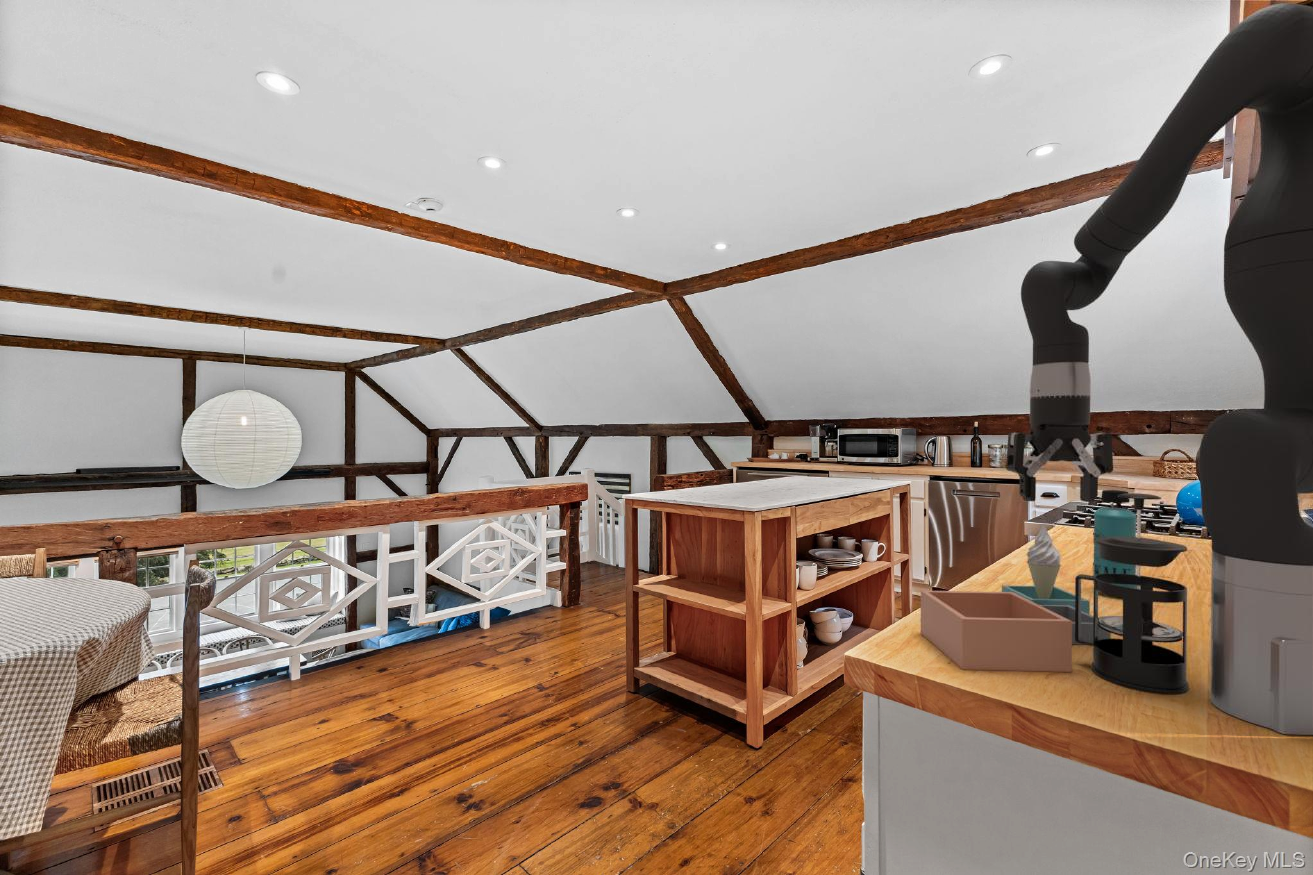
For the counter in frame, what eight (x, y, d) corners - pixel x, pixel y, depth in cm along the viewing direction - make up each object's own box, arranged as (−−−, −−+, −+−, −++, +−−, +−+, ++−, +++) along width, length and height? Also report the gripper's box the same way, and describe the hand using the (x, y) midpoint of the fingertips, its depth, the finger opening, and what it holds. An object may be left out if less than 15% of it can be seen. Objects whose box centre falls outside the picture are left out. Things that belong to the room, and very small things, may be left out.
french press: (1200, 680, 72) (1201, 494, 71) (1192, 704, 65) (1193, 500, 65) (1084, 653, 80) (1085, 487, 80) (1067, 672, 74) (1068, 492, 74)
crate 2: (1110, 644, 84) (1110, 624, 84) (1044, 643, 84) (1044, 622, 84) (1069, 624, 93) (1069, 605, 93) (1009, 622, 93) (1009, 604, 93)
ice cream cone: (1022, 610, 100) (1023, 523, 100) (1030, 604, 104) (1030, 520, 104) (1057, 616, 96) (1058, 526, 96) (1064, 610, 100) (1064, 523, 100)
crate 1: (1089, 619, 95) (1089, 600, 95) (1031, 617, 96) (1031, 599, 96) (1054, 602, 104) (1054, 586, 104) (1001, 601, 105) (1001, 585, 105)
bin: (1071, 671, 74) (1071, 621, 74) (962, 669, 75) (962, 619, 75) (1012, 635, 88) (1013, 592, 88) (920, 633, 88) (920, 590, 88)
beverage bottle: (1120, 592, 111) (1121, 488, 111) (1146, 602, 104) (1146, 492, 104) (1084, 591, 112) (1084, 488, 112) (1107, 601, 105) (1108, 491, 105)
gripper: (1025, 393, 85) (1023, 504, 85) (1127, 393, 84) (1125, 504, 84) (998, 396, 92) (996, 497, 92) (1091, 395, 91) (1090, 498, 92)
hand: (1058, 501), depth 88 cm, fingers open, 8 cm apart
